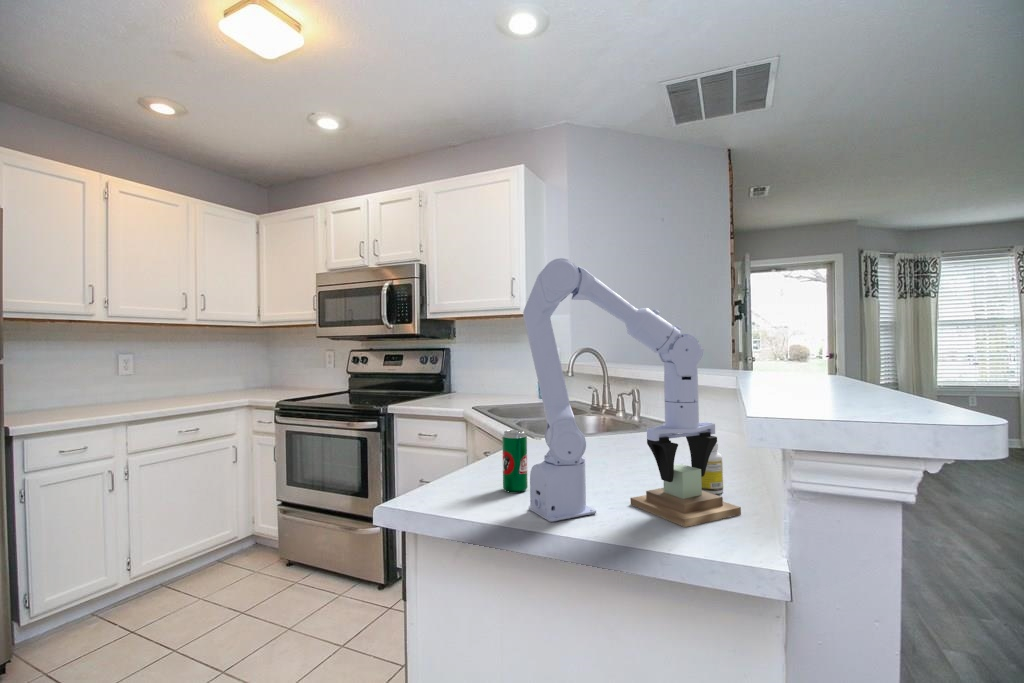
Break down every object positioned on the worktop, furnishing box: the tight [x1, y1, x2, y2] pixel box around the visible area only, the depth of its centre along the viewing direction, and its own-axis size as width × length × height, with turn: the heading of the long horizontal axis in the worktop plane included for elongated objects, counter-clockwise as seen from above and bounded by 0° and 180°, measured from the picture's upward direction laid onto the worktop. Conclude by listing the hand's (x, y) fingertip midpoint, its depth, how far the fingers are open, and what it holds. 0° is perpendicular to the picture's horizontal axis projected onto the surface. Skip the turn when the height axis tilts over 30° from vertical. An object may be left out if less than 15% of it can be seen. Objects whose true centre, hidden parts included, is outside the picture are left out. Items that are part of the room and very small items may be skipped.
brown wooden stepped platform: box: [629, 487, 742, 528], centre depth 83 cm, size 13×13×3 cm
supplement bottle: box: [701, 441, 724, 495], centre depth 95 cm, size 5×5×10 cm
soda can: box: [502, 429, 529, 493], centre depth 97 cm, size 5×5×12 cm
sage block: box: [663, 463, 702, 499], centre depth 84 cm, size 4×4×4 cm
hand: (683, 477), depth 83 cm, fingers open, 7 cm apart
